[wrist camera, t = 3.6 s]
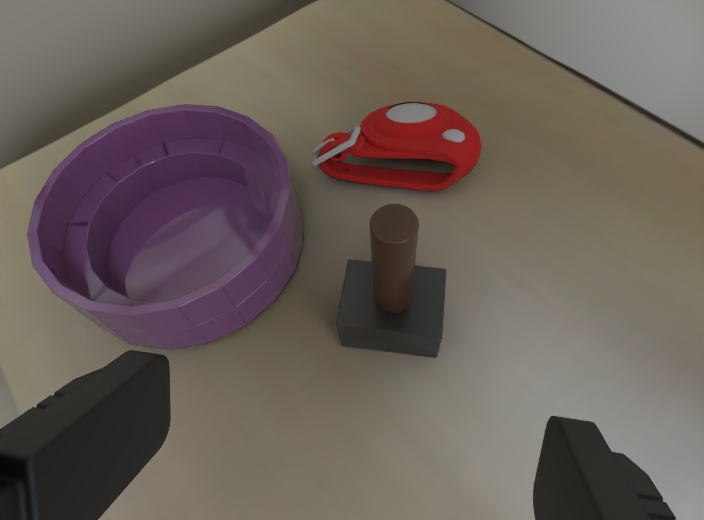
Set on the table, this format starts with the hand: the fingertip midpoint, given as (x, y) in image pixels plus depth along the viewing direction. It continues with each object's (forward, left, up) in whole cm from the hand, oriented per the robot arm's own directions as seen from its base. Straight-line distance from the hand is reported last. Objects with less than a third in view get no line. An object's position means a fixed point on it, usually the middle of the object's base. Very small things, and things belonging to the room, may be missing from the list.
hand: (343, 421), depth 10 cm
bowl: (+15, -14, -18) cm, 28 cm away
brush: (0, -10, -18) cm, 21 cm away
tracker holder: (+2, -25, -19) cm, 31 cm away
